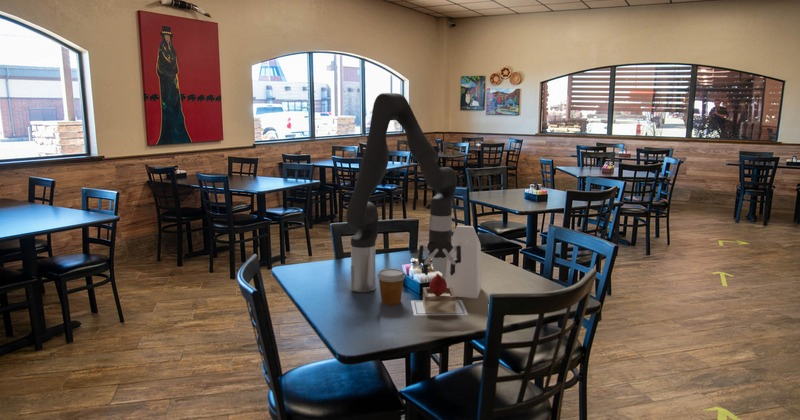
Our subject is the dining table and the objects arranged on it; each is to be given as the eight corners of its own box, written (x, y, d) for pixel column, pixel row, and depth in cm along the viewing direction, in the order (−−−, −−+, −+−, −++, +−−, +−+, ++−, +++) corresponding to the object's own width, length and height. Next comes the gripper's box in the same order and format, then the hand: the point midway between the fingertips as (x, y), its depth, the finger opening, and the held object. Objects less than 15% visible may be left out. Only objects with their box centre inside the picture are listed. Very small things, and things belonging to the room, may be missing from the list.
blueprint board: (413, 318, 181) (413, 315, 181) (410, 303, 195) (410, 300, 194) (468, 318, 182) (468, 314, 182) (461, 303, 195) (461, 299, 195)
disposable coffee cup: (389, 298, 200) (389, 266, 198) (410, 304, 194) (410, 271, 192) (371, 305, 193) (371, 272, 190) (392, 312, 187) (392, 278, 185)
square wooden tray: (425, 312, 183) (425, 297, 182) (422, 302, 193) (422, 287, 192) (455, 312, 183) (455, 296, 182) (451, 302, 193) (451, 287, 192)
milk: (481, 291, 208) (483, 224, 204) (477, 301, 197) (479, 230, 193) (449, 288, 211) (451, 222, 207) (444, 298, 201) (445, 228, 196)
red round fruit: (445, 293, 190) (445, 270, 189) (447, 298, 185) (448, 276, 183) (428, 293, 190) (428, 271, 188) (430, 299, 184) (430, 276, 183)
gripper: (419, 230, 179) (418, 278, 182) (463, 230, 180) (461, 278, 183) (418, 225, 186) (417, 271, 189) (460, 225, 187) (458, 271, 190)
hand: (438, 274), depth 186 cm, fingers open, 8 cm apart
